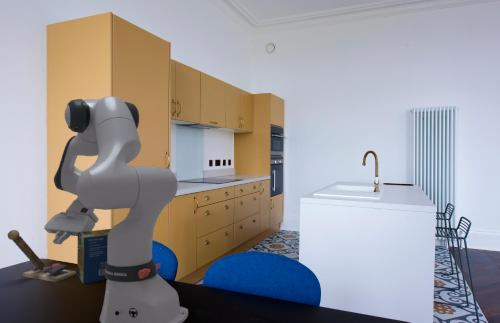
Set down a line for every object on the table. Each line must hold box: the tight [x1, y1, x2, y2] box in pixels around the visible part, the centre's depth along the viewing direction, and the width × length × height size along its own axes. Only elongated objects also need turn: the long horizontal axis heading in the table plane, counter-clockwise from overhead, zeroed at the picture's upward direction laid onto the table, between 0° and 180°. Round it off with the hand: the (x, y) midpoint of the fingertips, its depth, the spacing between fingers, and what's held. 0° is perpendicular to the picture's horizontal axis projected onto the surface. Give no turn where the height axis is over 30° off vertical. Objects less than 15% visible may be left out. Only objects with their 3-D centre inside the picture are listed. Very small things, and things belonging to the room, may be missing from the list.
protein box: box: [76, 228, 112, 285], centre depth 119 cm, size 10×15×16 cm
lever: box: [7, 229, 48, 270], centre depth 115 cm, size 3×3×20 cm
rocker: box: [48, 264, 68, 275], centre depth 117 cm, size 3×5×1 cm, turn 160°
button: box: [51, 263, 61, 269], centre depth 120 cm, size 3×3×2 cm
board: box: [21, 266, 77, 283], centre depth 119 cm, size 16×8×3 cm, turn 70°
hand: (56, 243), depth 125 cm, fingers closed
